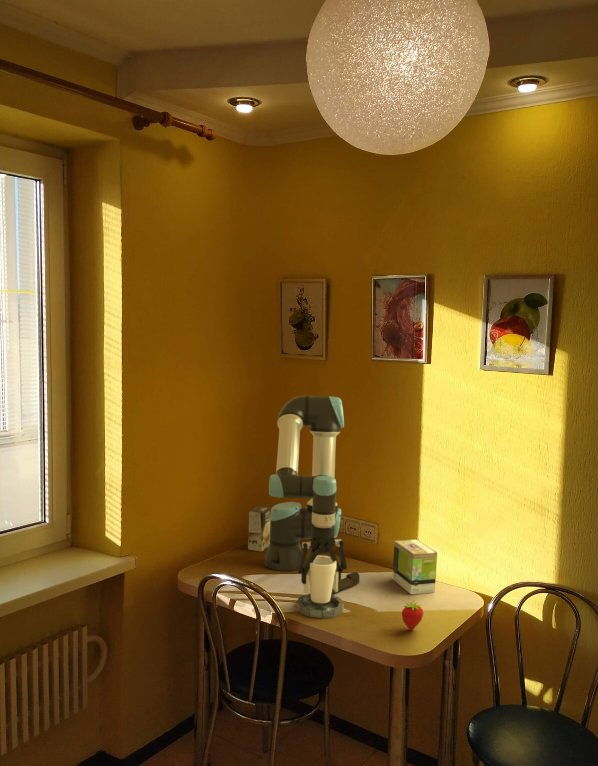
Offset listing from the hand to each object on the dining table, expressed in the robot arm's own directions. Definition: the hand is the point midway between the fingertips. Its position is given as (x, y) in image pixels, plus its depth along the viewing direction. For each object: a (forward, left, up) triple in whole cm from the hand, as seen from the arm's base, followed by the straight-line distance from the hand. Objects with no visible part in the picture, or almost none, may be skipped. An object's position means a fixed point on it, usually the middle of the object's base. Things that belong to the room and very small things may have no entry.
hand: (320, 591), depth 228 cm
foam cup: (0, 0, -3) cm, 3 cm away
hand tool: (-13, +12, -6) cm, 19 cm away
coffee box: (-61, -4, -6) cm, 62 cm away
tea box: (-10, +39, -6) cm, 41 cm away
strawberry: (+22, +22, -6) cm, 32 cm away
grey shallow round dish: (0, 0, -6) cm, 6 cm away
